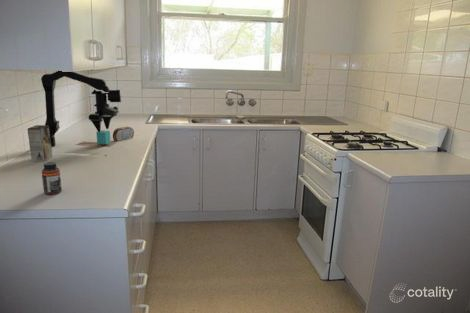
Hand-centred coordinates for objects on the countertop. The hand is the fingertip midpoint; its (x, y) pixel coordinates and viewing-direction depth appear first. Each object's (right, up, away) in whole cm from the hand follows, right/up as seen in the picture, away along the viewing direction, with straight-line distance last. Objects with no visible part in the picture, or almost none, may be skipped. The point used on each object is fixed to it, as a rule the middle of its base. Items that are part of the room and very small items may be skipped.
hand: (103, 130), depth 202 cm
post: (0, -8, +2) cm, 8 cm away
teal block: (0, -7, +2) cm, 7 cm away
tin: (+6, -5, +18) cm, 20 cm away
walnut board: (-5, -9, +3) cm, 11 cm away
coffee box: (-21, -16, -25) cm, 36 cm away
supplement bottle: (+6, -28, -68) cm, 74 cm away
